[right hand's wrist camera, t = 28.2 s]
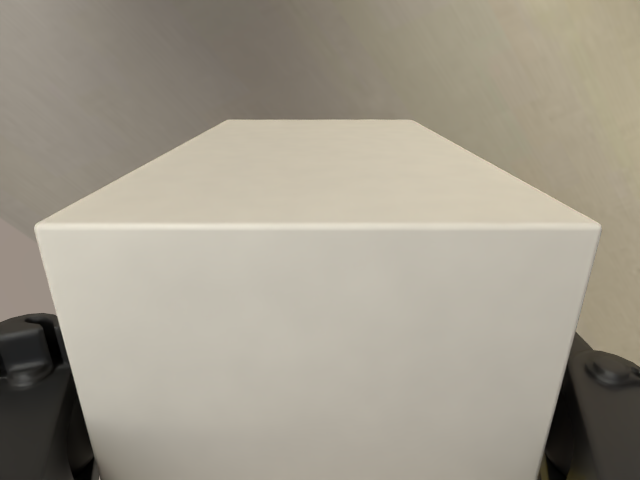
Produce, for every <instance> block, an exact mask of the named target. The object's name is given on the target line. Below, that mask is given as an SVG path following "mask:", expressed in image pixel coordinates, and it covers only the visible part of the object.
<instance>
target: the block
mask: <svg viewBox="0 0 640 480" xmlns="http://www.w3.org/2000/svg"><path fill="white" fill-rule="evenodd" d="M34 231H35V234H36V238H37V242H38V246H39V249H40V253H41V257H42V261H43V265H44V268H45V272H46V276H47V280H48V283H49V287H50V291H51V295H52V298H53V302H54V306H55V310H56V314H57V317H58V321H59V325H60V329H61V332H62V336H63V340H64V344H65V347H66V351H67V355H68V359H69V363H70V366H71V370H72V374H73V378H74V381H75V385H76V389H77V393H78V396H79V400H80V404H81V408H82V412H83V415H84V419H85V423H86V427H87V430H88V434H89V438H90V442H91V445H92V449H93V453H94V457H95V461H96V464H97V468H98V472H99V476H100V479H101V480H537V476H538V472H539V469H540V465H541V461H542V457H543V453H544V450H545V446H546V442H547V438H548V434H549V430H550V427H551V423H552V419H553V415H554V411H555V408H556V404H557V400H558V396H559V392H560V389H561V385H562V381H563V377H564V373H565V369H566V366H567V362H568V358H569V354H570V350H571V347H572V343H573V339H574V335H575V331H576V327H577V324H578V320H579V316H580V312H581V308H582V305H583V301H584V297H585V293H586V289H587V285H588V282H589V278H590V274H591V270H592V266H593V263H594V259H595V255H596V251H597V247H598V243H599V240H600V236H601V232H602V227H601V225H600V223H598V222H596V221H594V220H592V219H590V218H589V217H587V216H585V215H583V214H581V213H580V212H578V211H576V210H574V209H572V208H571V207H569V206H567V205H565V204H563V203H562V202H560V201H558V200H556V199H554V198H553V197H551V196H549V195H547V194H545V193H543V192H542V191H540V190H538V189H536V188H534V187H533V186H531V185H529V184H527V183H525V182H524V181H522V180H520V179H518V178H516V177H515V176H513V175H511V174H509V173H507V172H506V171H504V170H502V169H500V168H498V167H496V166H495V165H493V164H491V163H489V162H487V161H486V160H484V159H482V158H480V157H478V156H477V155H475V154H473V153H471V152H469V151H468V150H466V149H464V148H462V147H460V146H459V145H457V144H455V143H453V142H451V141H449V140H448V139H446V138H444V137H442V136H440V135H439V134H437V133H435V132H433V131H431V130H430V129H428V128H426V127H424V126H422V125H421V124H419V123H417V122H415V121H413V120H226V121H224V122H222V123H220V124H218V125H217V126H215V127H213V128H211V129H209V130H207V131H206V132H204V133H202V134H200V135H198V136H196V137H195V138H193V139H191V140H189V141H187V142H185V143H184V144H182V145H180V146H178V147H176V148H174V149H173V150H171V151H169V152H167V153H165V154H163V155H162V156H160V157H158V158H156V159H154V160H152V161H151V162H149V163H147V164H145V165H143V166H141V167H139V168H138V169H136V170H134V171H132V172H130V173H128V174H127V175H125V176H123V177H121V178H119V179H117V180H116V181H114V182H112V183H110V184H108V185H106V186H105V187H103V188H101V189H99V190H97V191H95V192H94V193H92V194H90V195H88V196H86V197H84V198H83V199H81V200H79V201H77V202H75V203H73V204H71V205H70V206H68V207H66V208H64V209H62V210H60V211H59V212H57V213H55V214H53V215H51V216H49V217H48V218H46V219H44V220H42V221H40V222H38V223H37V224H36V225H35V230H34Z"/></svg>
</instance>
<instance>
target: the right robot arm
mask: <svg viewBox="0 0 640 480" xmlns="http://www.w3.org/2000/svg"><path fill="white" fill-rule="evenodd" d="M0 480H99V472H98V468H97V464H96V461H95V457H94V453H93V449H92V445H91V442H90V438H89V434H88V430H87V427H86V423H85V419H84V415H83V412H82V408H81V404H80V400H79V396H78V393H77V389H76V385H75V381H74V378H73V374H72V370H71V366H70V363H69V359H68V355H67V351H66V347H65V344H64V340H63V336H62V332H61V329H60V325H59V321H58V317H57V316H56V315H53V314H46V313H38V314H27V315H23V316H18V317H14V318H10V319H8V320H5V321H2V322H0ZM537 480H640V367H639V366H637V365H636V364H634V363H633V362H631V361H628V360H626V359H624V358H622V357H619V356H617V355H614V354H610V353H606V352H602V351H594V350H593V349H592V348H591V347H590V346H589V345H588V344H587V343H586V342H585V341H584V340H583V339H582V338H581V337H580V336H579V335H578V334H577V333H576V332H575V335H574V339H573V343H572V347H571V350H570V354H569V358H568V362H567V366H566V369H565V373H564V377H563V381H562V385H561V389H560V392H559V396H558V400H557V404H556V408H555V411H554V415H553V419H552V423H551V427H550V430H549V434H548V438H547V442H546V446H545V450H544V453H543V457H542V461H541V465H540V469H539V473H538V476H537Z"/></svg>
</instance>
